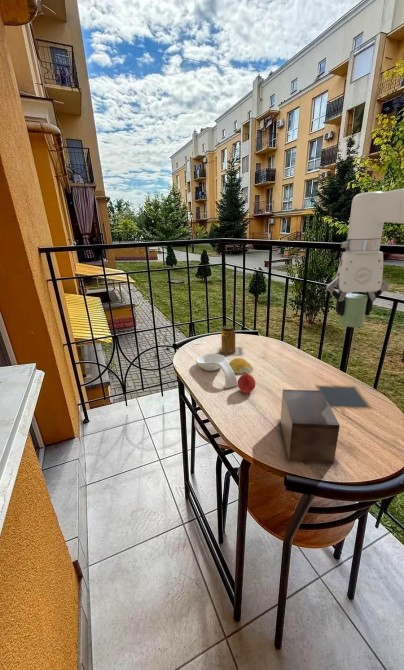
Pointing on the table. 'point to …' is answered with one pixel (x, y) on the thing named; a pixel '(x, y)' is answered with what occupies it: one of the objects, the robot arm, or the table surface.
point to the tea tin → (354, 310)
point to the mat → (342, 397)
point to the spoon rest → (216, 362)
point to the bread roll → (240, 365)
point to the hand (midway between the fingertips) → (352, 313)
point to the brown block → (308, 426)
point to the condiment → (228, 340)
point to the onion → (246, 383)
